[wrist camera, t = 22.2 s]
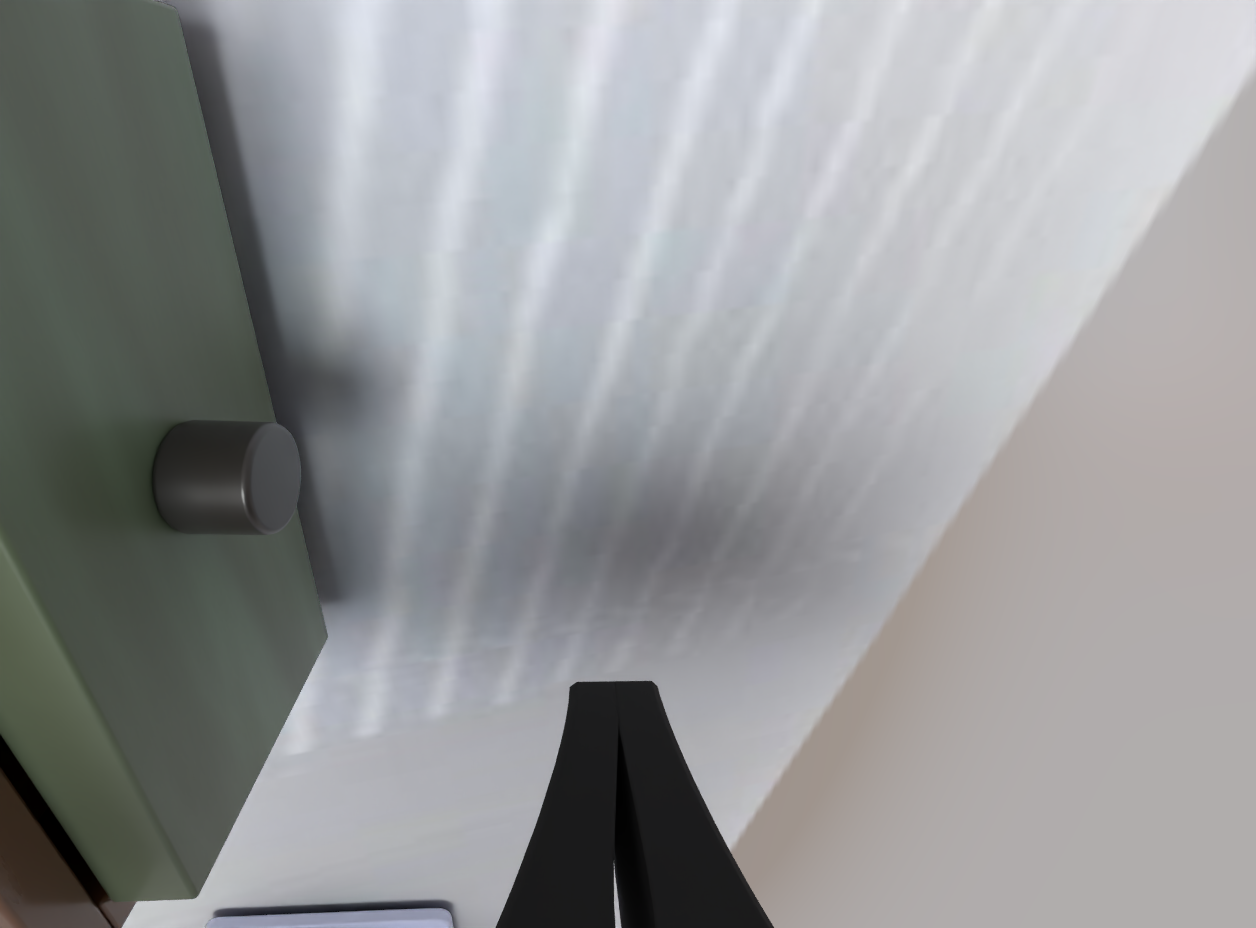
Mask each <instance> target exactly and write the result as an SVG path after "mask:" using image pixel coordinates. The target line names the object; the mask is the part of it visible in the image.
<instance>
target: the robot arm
mask: <svg viewBox="0 0 1256 928" xmlns="http://www.w3.org/2000/svg"><path fill="white" fill-rule="evenodd" d="M614 866H615V875H616V884H617V892H618V901H619V910H620V919H621V927H622V928H774V927H773V925H772V923H771V922H770V920H769V919H768V917H767V915H766V914H765V912H764V910H763V908H762V907H761V905H760V904H759V902H758V900H757V898H756V897H755V895H754V893H753V892H752V890H751V888H750V886H749V885H748V883H747V881H746V879H745V878H744V876H743V874H742V872H741V870H740V868H739V867H738V865H737V863H736V861H735V859H734V858H733V856H732V854H731V852H730V850H729V849H728V847H727V845H726V843H725V841H724V839H723V837H722V835H721V834H720V832H719V830H718V828H717V826H716V824H715V822H714V820H713V818H712V816H711V814H710V812H709V810H708V808H707V806H706V804H705V802H704V800H703V798H702V796H701V794H700V791H699V789H698V787H697V785H696V783H695V781H694V779H693V777H692V775H691V773H690V770H689V768H688V766H687V764H686V762H685V759H684V757H683V755H682V752H681V750H680V748H679V745H678V743H677V740H676V738H675V736H674V733H673V731H672V728H671V726H670V723H669V720H668V718H667V715H666V712H665V709H664V706H663V703H662V700H661V697H660V694H659V691H658V687H657V685H655V684H654V683H653V682H652V681H615V682H576V683H575V684H573V685H572V686H571V687H570V691H569V703H568V710H567V716H566V722H565V727H564V731H563V736H562V740H561V744H560V748H559V752H558V755H557V759H556V763H555V767H554V770H553V773H552V776H551V780H550V783H549V786H548V789H547V792H546V795H545V799H544V802H543V805H542V808H541V811H540V814H539V817H538V820H537V823H536V826H535V829H534V831H533V834H532V837H531V839H530V842H529V845H528V847H527V850H526V853H525V855H524V858H523V861H522V863H521V866H520V869H519V871H518V874H517V877H516V879H515V882H514V885H513V887H512V890H511V892H510V894H509V897H508V899H507V902H506V904H505V907H504V909H503V911H502V914H501V916H500V919H499V921H498V923H497V926H496V928H615V913H614ZM205 928H453V923H452V916H451V914H450V912H449V911H447V910H446V909H442V908H422V909H398V910H375V911H351V912H327V913H303V914H279V915H255V916H232V917H217V918H213V919H211V920H209V921H208V923H207V924H206V926H205Z"/></svg>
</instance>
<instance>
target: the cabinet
mask: <svg viewBox="0 0 1256 928" xmlns="http://www.w3.org/2000/svg"><path fill="white" fill-rule="evenodd" d="M136 902H137V901H131V902H114V901H112V900H111V899H110V898H109V896H108V895H107V893H106V892H105V890H104V889H103V887H102V886H101V884H100V883H99V881H98V880H97V878H96V877H95V875H94V874H93V872H92V871H91V869H90V868H89V866H88V865H87V863H86V862H85V860H84V859H83V857H82V856H81V854H80V853H79V851H78V850H77V848H76V847H75V845H74V844H73V842H72V841H71V839H70V838H69V836H68V835H67V833H66V832H65V830H64V829H63V827H62V826H61V824H60V823H59V821H58V820H57V818H56V817H55V815H54V814H53V812H52V811H51V809H50V808H49V807H48V808H47V809H46V810H45V812H44V813H43V814H42V816H41V817H40V818H39V819H38V820H37V819H36V818H35V816H34V815H33V813H32V812H31V810H30V809H29V807H28V806H27V805H26V803H25V802H24V800H23V799H22V797H21V796H20V795H19V793H18V792H17V790H16V789H15V787H14V786H13V785H12V783H11V782H10V780H9V779H8V777H7V776H6V774H5V773H4V772H3V770H2V769H1V767H0V928H122V926H123V924H124V922H125V921H126V919H127V917H128V916H129V914H130V912H131V910H132V909H133V907H134V905H135V903H136Z"/></svg>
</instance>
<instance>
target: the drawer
mask: <svg viewBox="0 0 1256 928" xmlns="http://www.w3.org/2000/svg"><path fill="white" fill-rule="evenodd" d="M300 486H301V463H300V456H299V452H298V448H297V445H296V442H295V440H294V438H293V436H292V434H291V433H290V432H289V431H288V429H286V428H285V427H284V426H282V425H280V424H278V423H277V422H276V418H275V414H274V410H273V406H272V402H271V397H270V393H269V389H268V385H267V381H266V377H265V372H264V368H263V364H262V360H261V356H260V352H259V348H258V343H257V339H256V335H255V331H254V327H253V323H252V318H251V314H250V310H249V306H248V302H247V298H246V293H245V289H244V285H243V281H242V277H241V273H240V269H239V264H238V260H237V256H236V252H235V248H234V244H233V239H232V235H231V231H230V227H229V223H228V219H227V214H226V210H225V206H224V202H223V198H222V194H221V190H220V185H219V181H218V177H217V173H216V169H215V165H214V160H213V156H212V152H211V148H210V144H209V140H208V135H207V131H206V127H205V123H204V119H203V115H202V111H201V106H200V102H199V98H198V94H197V90H196V86H195V81H194V77H193V73H192V69H191V65H190V61H189V57H188V52H187V48H186V44H185V40H184V36H183V32H182V27H181V23H180V19H179V15H178V12H177V10H176V8H175V7H173V6H171V5H168V4H165V3H162V2H159V1H155V0H0V767H1V769H2V770H3V772H4V773H5V774H6V776H7V777H8V779H9V780H10V782H11V783H12V785H13V786H14V787H15V789H16V790H17V792H18V793H19V795H20V796H21V797H22V799H23V800H24V802H25V803H26V805H27V806H28V807H29V809H30V810H31V812H32V813H33V815H34V816H35V818H36V819H37V820H38V819H39V818H40V817H41V816H42V814H43V813H44V812H45V810H46V809H47V808H48V807H49V808H50V809H51V811H52V812H53V814H54V815H55V817H56V818H57V820H58V821H59V823H60V824H61V826H62V827H63V829H64V830H65V832H66V833H67V835H68V836H69V838H70V839H71V841H72V842H73V844H74V845H75V847H76V848H77V850H78V851H79V853H80V854H81V856H82V857H83V859H84V860H85V862H86V863H87V865H88V866H89V868H90V869H91V871H92V872H93V874H94V875H95V877H96V878H97V880H98V881H99V883H100V884H101V886H102V887H103V889H104V890H105V892H106V893H107V895H108V896H109V898H110V899H111V900H112V901H114V902H131V901H156V900H182V899H194V898H196V897H197V896H198V895H199V893H200V891H201V889H202V887H203V885H204V883H205V881H206V879H207V877H208V875H209V873H210V871H211V869H212V867H213V865H214V863H215V861H216V859H217V857H218V855H219V853H220V851H221V849H222V847H223V845H224V843H225V841H226V839H227V837H228V835H229V833H230V831H231V829H232V827H233V825H234V823H235V821H236V819H237V817H238V815H239V813H240V811H241V809H242V807H243V805H244V803H245V801H246V799H247V797H248V795H249V793H250V791H251V789H252V787H253V785H254V783H255V781H256V779H257V777H258V775H259V773H260V771H261V770H262V768H263V766H264V764H265V762H266V760H267V758H268V756H269V754H270V752H271V750H272V748H273V746H274V744H275V742H276V740H277V738H278V736H279V734H280V732H281V730H282V728H283V726H284V724H285V722H286V720H287V718H288V716H289V714H290V712H291V710H292V708H293V706H294V704H295V702H296V700H297V698H298V696H299V694H300V692H301V690H302V688H303V686H304V684H305V682H306V680H307V678H308V676H309V674H310V672H311V670H312V668H313V666H314V664H315V662H316V660H317V658H318V656H319V654H320V652H321V650H322V648H323V646H324V644H325V642H326V640H327V638H328V634H327V630H326V626H325V622H324V618H323V614H322V609H321V605H320V601H319V597H318V593H317V589H316V584H315V580H314V576H313V572H312V568H311V564H310V560H309V555H308V551H307V547H306V543H305V539H304V535H303V530H302V526H301V522H300V518H299V514H298V510H297V502H298V498H299V493H300Z"/></svg>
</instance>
